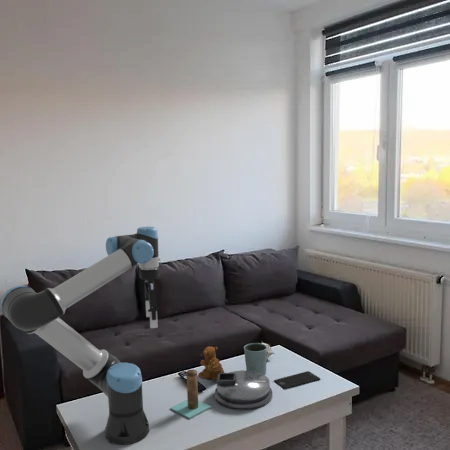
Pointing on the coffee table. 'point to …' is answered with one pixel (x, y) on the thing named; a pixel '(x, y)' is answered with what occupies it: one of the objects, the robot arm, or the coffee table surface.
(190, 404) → the key peg
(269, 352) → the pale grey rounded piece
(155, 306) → the robot arm
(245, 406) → the base
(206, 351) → the brown teddy bear
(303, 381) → the cell phone
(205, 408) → the key mat
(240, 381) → the disc
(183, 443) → the coffee table surface
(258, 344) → the green cup
